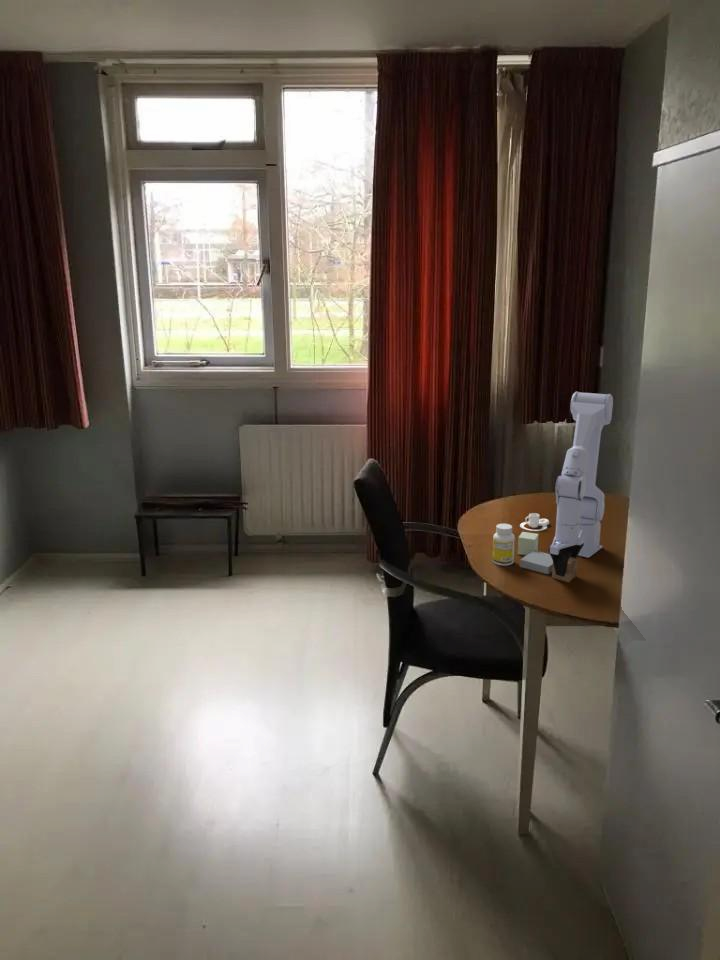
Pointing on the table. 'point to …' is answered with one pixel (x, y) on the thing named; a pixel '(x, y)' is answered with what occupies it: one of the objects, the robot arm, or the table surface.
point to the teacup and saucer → (535, 522)
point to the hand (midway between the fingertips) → (564, 571)
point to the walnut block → (567, 570)
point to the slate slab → (537, 562)
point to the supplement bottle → (503, 545)
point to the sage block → (527, 543)
